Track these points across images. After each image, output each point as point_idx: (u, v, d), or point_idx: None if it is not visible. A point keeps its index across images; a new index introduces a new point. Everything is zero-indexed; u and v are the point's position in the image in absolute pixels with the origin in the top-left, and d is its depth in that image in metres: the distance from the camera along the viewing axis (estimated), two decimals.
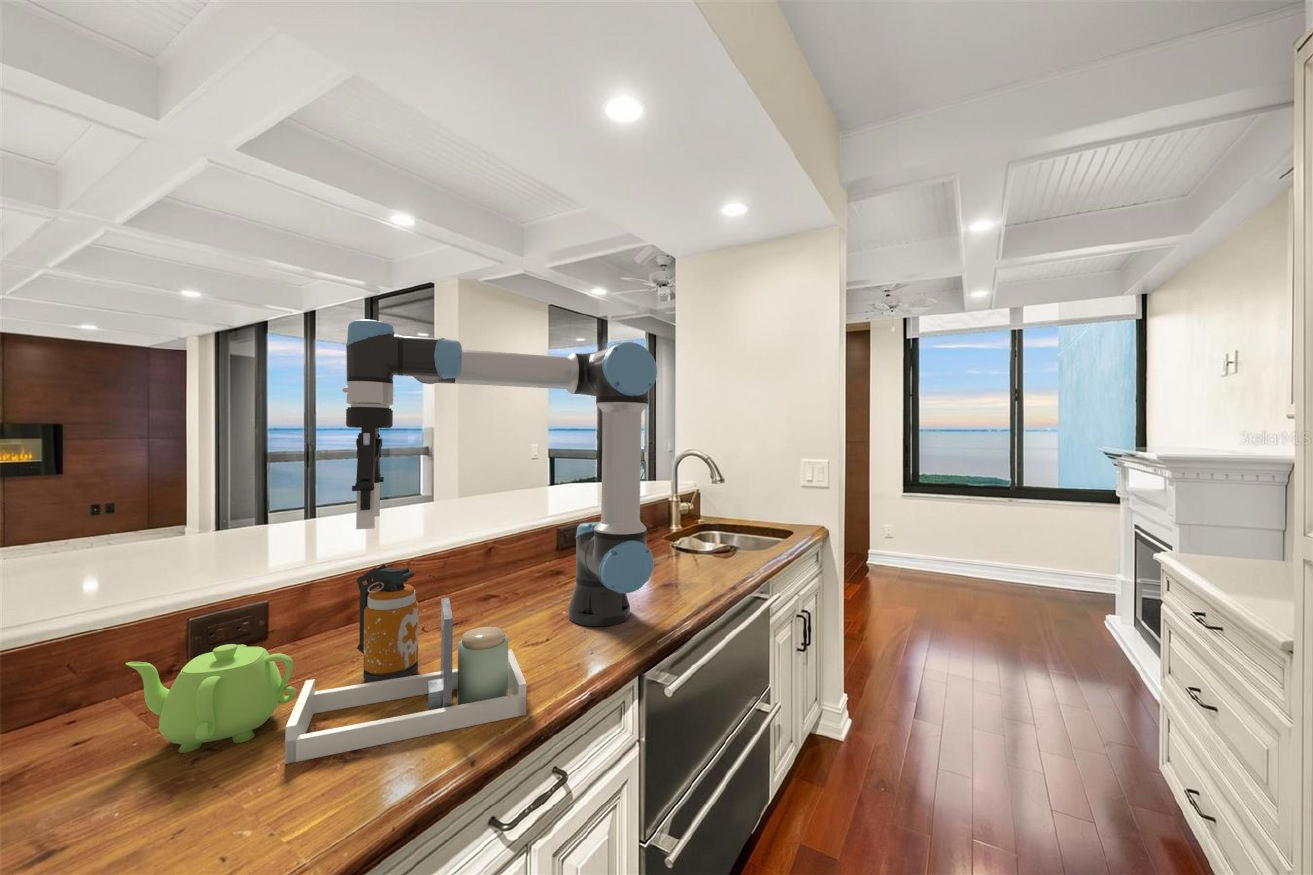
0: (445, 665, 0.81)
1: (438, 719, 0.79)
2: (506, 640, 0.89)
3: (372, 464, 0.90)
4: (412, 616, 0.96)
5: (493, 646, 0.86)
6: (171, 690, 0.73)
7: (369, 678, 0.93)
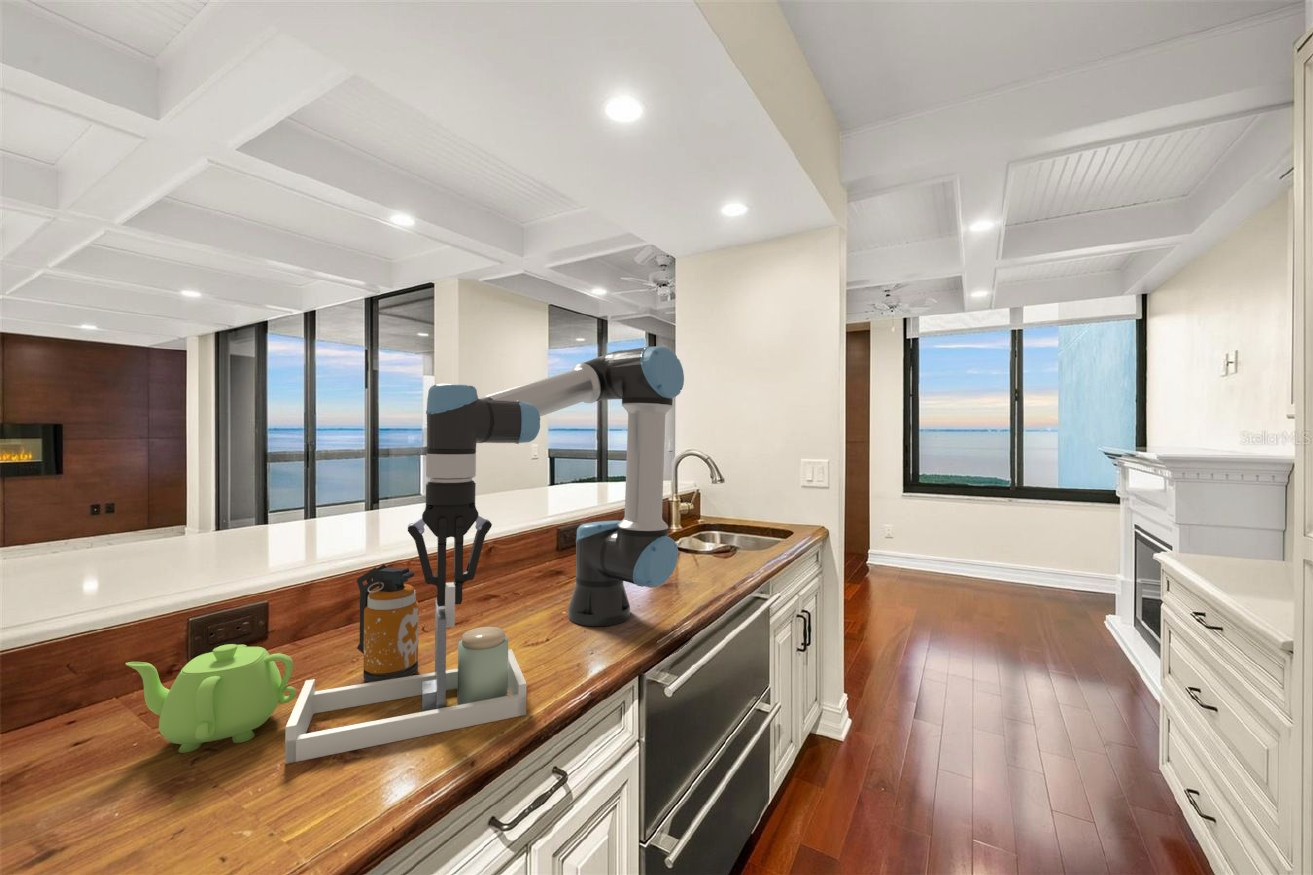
0: (438, 666, 0.80)
1: (438, 719, 0.79)
2: (506, 640, 0.89)
3: (420, 561, 0.83)
4: (412, 616, 0.96)
5: (493, 646, 0.86)
6: (171, 690, 0.73)
7: (369, 678, 0.93)
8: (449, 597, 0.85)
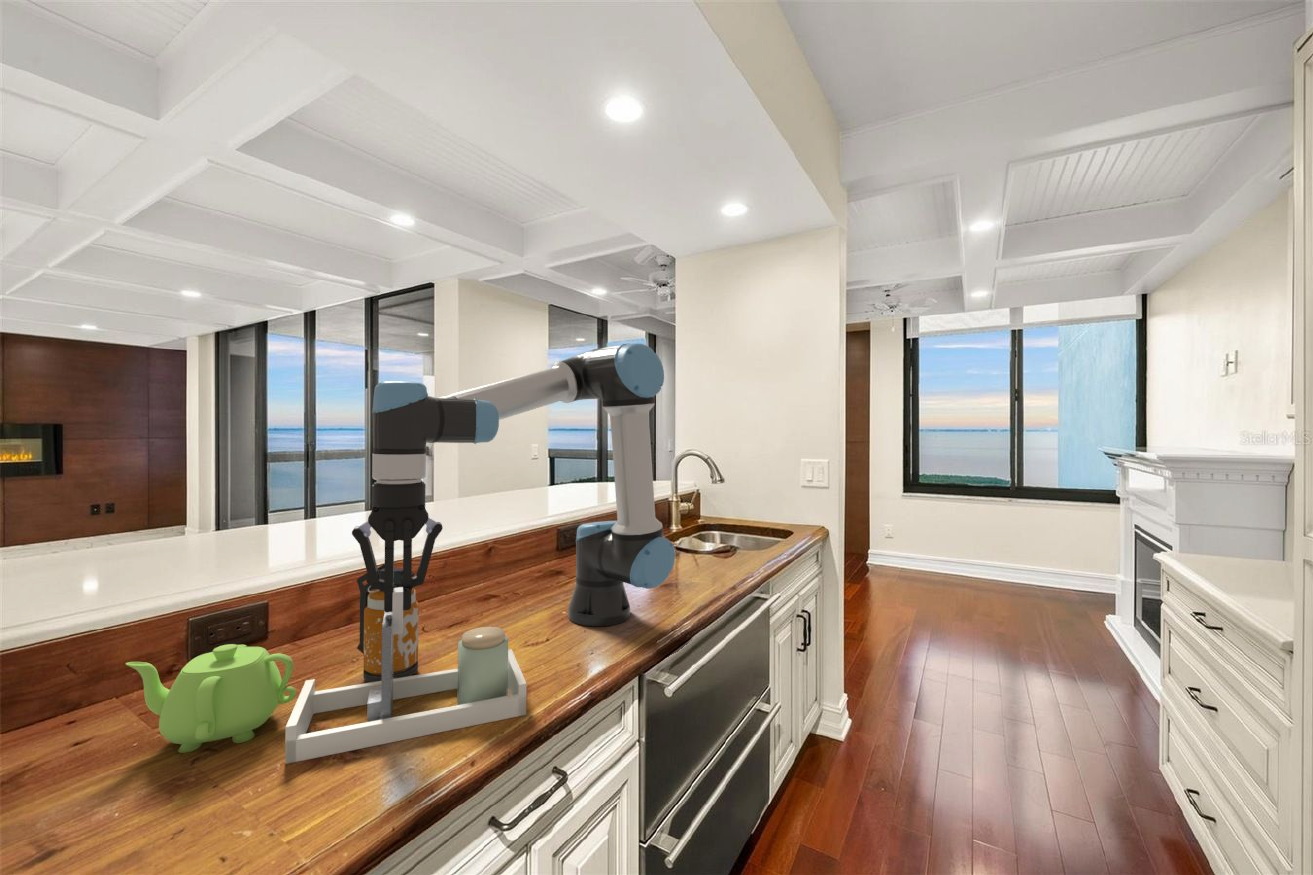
0: (383, 675, 0.77)
1: (438, 719, 0.79)
2: (506, 640, 0.89)
3: (365, 565, 0.80)
4: (412, 616, 0.96)
5: (493, 646, 0.86)
6: (171, 690, 0.73)
7: (369, 678, 0.93)
8: (397, 603, 0.82)
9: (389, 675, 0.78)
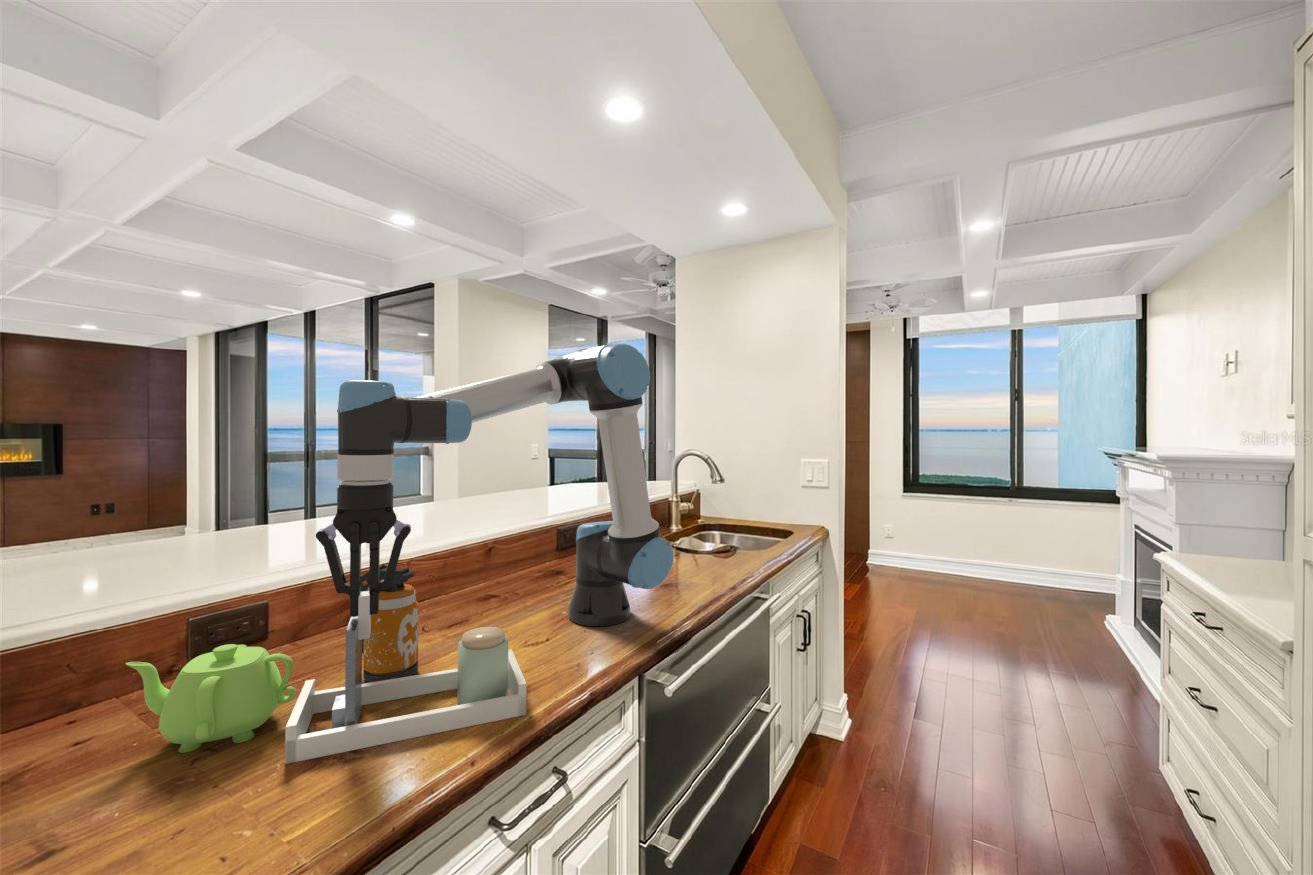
0: (347, 680, 0.75)
1: (438, 719, 0.79)
2: (506, 640, 0.89)
3: (330, 568, 0.78)
4: (412, 616, 0.96)
5: (493, 646, 0.86)
6: (171, 690, 0.73)
7: (369, 678, 0.93)
8: (363, 607, 0.80)
9: (353, 681, 0.76)
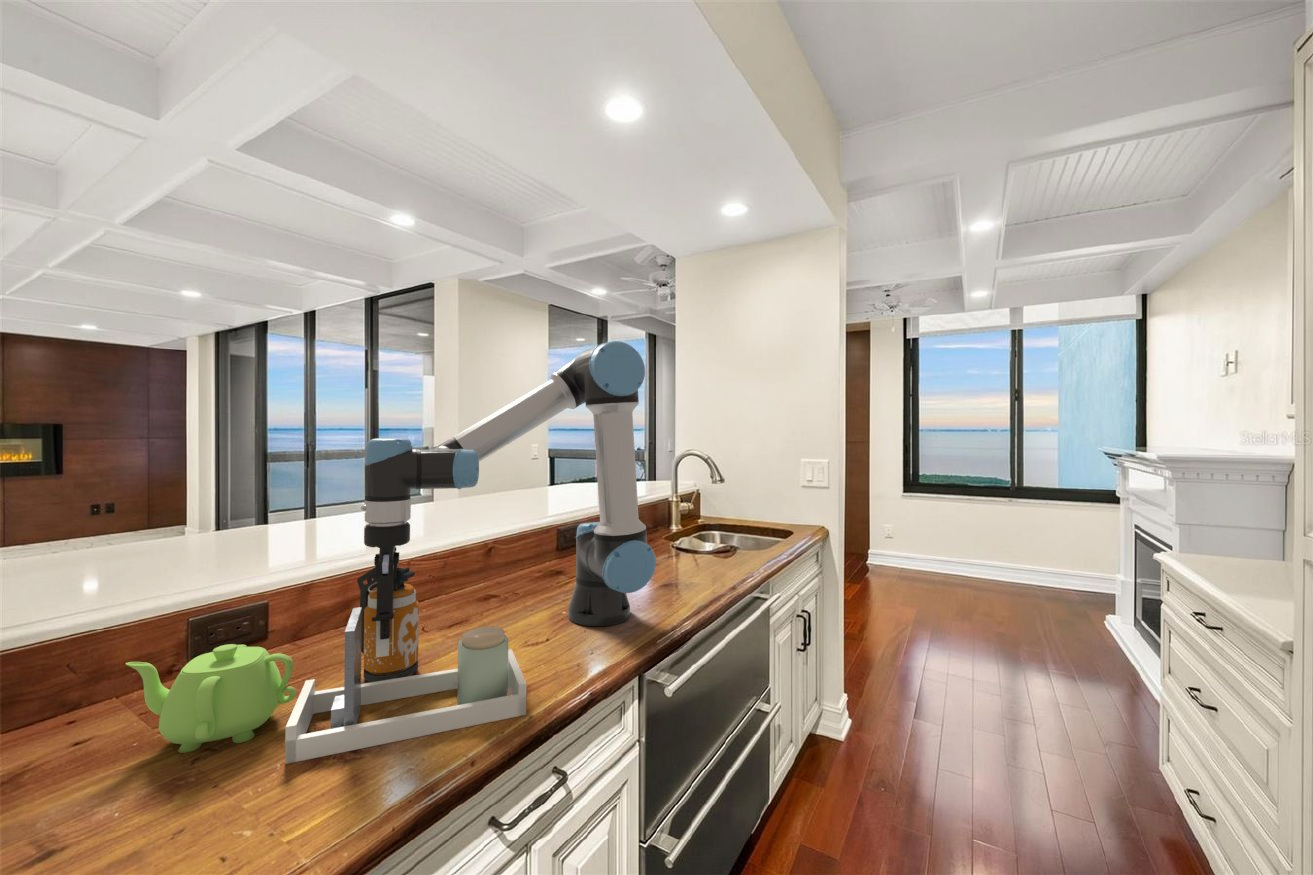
0: (346, 681, 0.75)
1: (438, 719, 0.79)
2: (506, 640, 0.89)
3: (391, 595, 0.91)
4: (412, 615, 0.96)
5: (493, 646, 0.86)
6: (171, 690, 0.73)
7: (369, 677, 0.93)
8: None
9: (352, 681, 0.76)
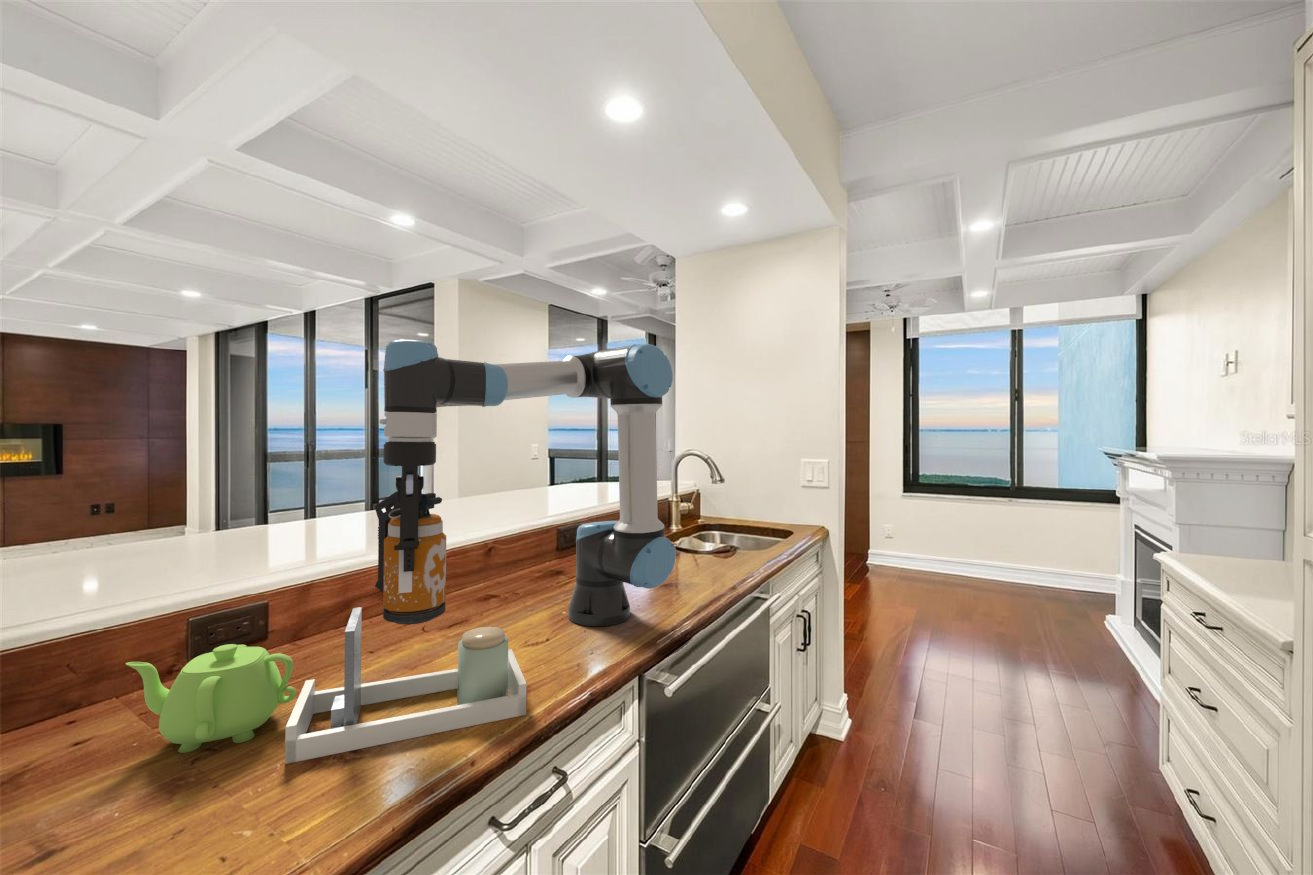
0: (346, 681, 0.75)
1: (438, 719, 0.79)
2: (506, 640, 0.89)
3: (417, 519, 0.77)
4: (440, 547, 0.82)
5: (493, 646, 0.86)
6: (171, 690, 0.73)
7: (391, 617, 0.79)
8: None
9: (352, 681, 0.76)
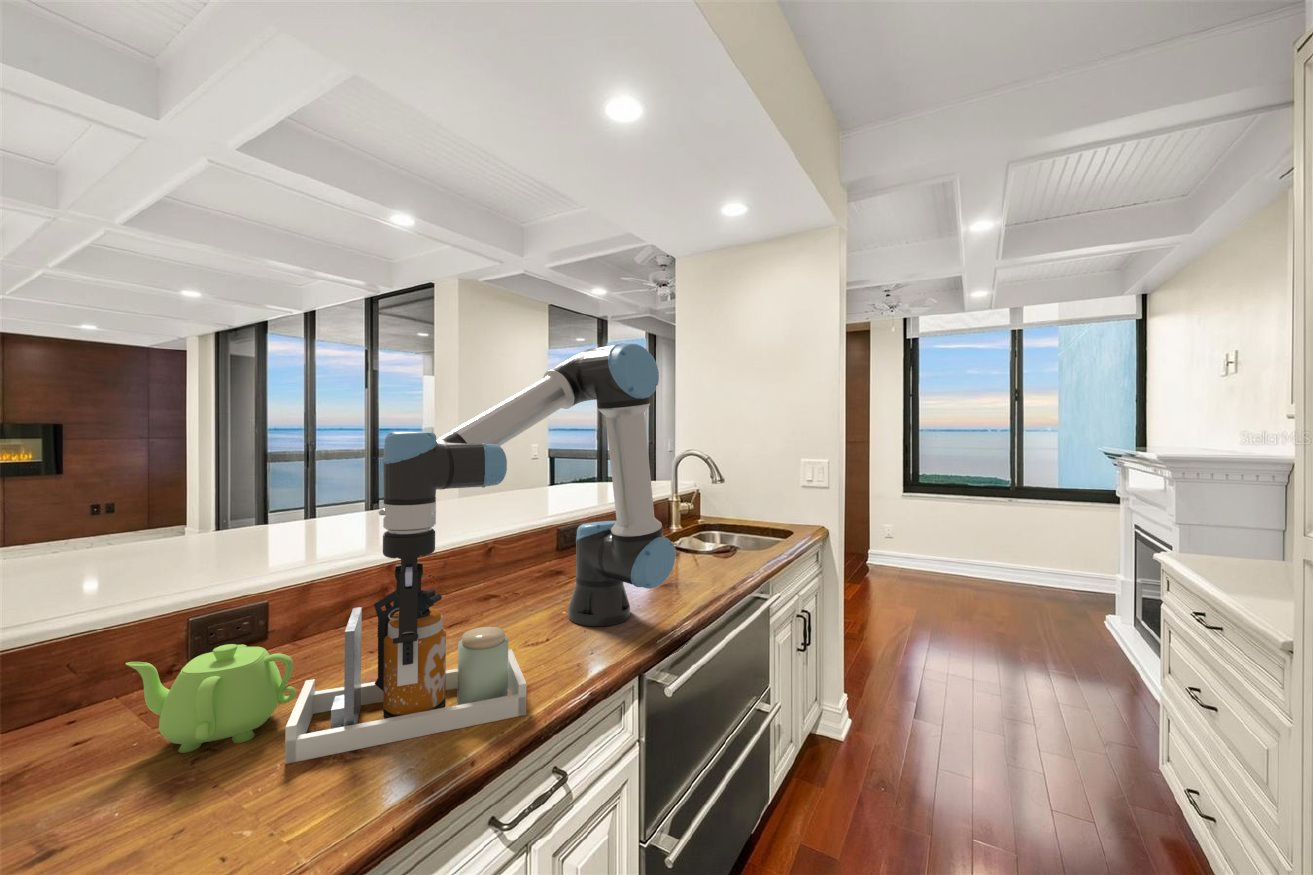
0: (346, 681, 0.75)
1: (438, 719, 0.79)
2: (506, 640, 0.89)
3: (416, 611, 0.77)
4: (440, 646, 0.83)
5: (493, 646, 0.86)
6: (171, 690, 0.73)
7: None
8: None
9: (352, 681, 0.76)
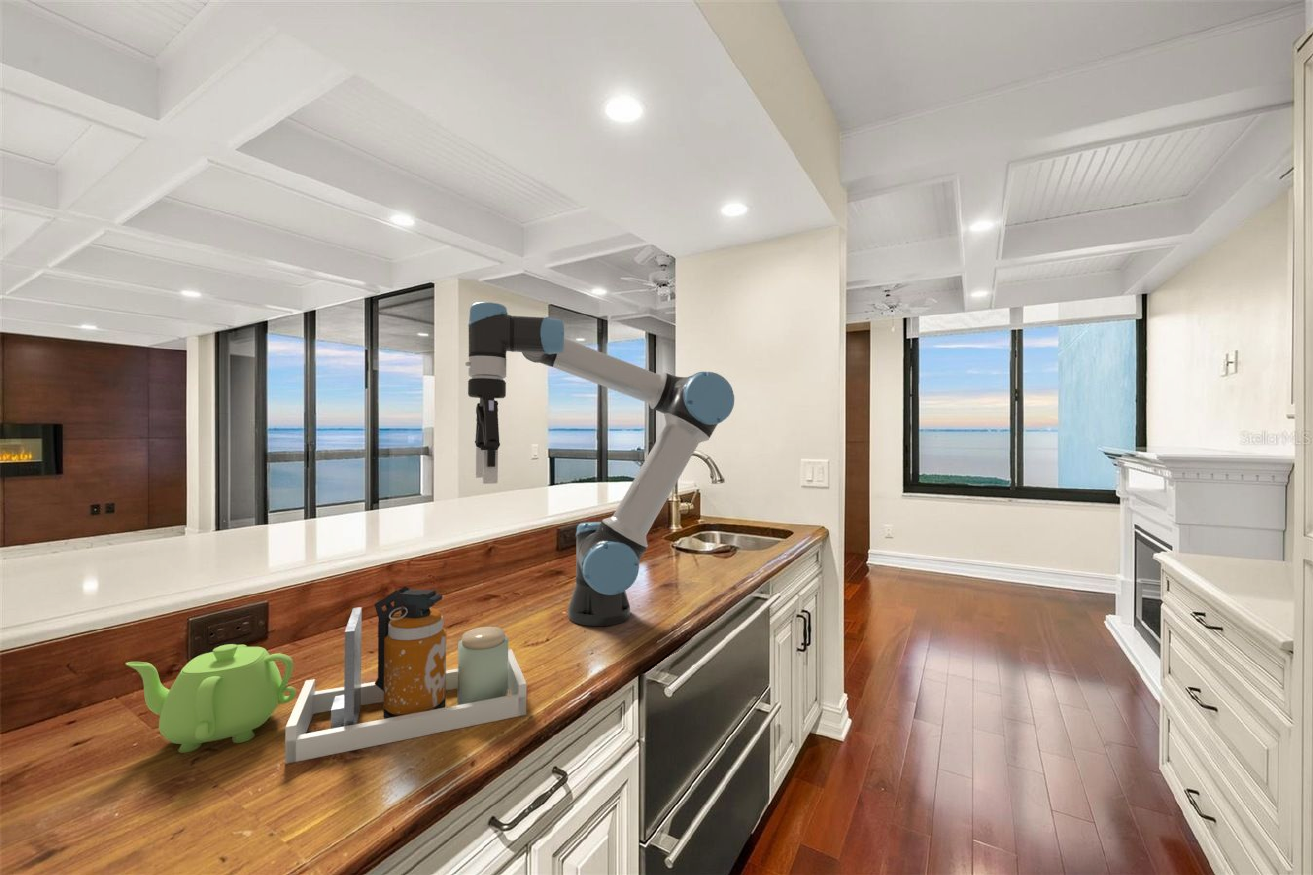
0: (346, 681, 0.75)
1: (438, 719, 0.79)
2: (506, 640, 0.89)
3: (497, 427, 1.03)
4: (440, 646, 0.83)
5: (493, 646, 0.86)
6: (171, 690, 0.73)
7: None
8: None
9: (352, 681, 0.76)
